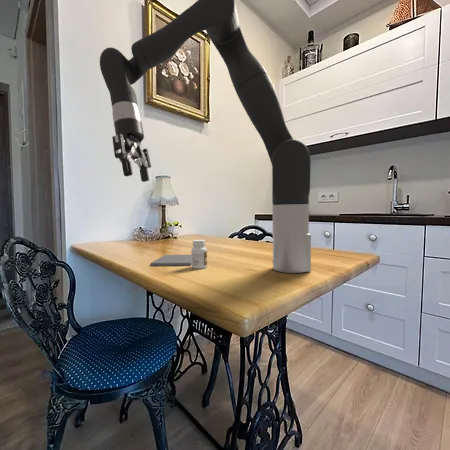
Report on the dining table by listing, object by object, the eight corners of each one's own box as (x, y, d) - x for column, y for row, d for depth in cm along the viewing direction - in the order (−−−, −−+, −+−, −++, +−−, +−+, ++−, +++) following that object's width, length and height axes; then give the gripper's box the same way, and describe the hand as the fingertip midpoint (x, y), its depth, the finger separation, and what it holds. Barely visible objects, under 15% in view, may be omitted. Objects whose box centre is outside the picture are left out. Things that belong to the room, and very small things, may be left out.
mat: (198, 256, 89) (198, 254, 89) (190, 265, 76) (190, 263, 75) (164, 257, 90) (164, 254, 90) (150, 265, 76) (150, 263, 76)
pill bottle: (208, 268, 72) (208, 240, 71) (193, 269, 71) (192, 241, 70) (205, 265, 76) (204, 239, 76) (190, 266, 75) (189, 239, 74)
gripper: (124, 108, 65) (134, 170, 65) (152, 128, 79) (161, 180, 79) (99, 116, 67) (109, 177, 66) (131, 135, 81) (139, 185, 80)
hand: (137, 178), depth 73 cm, fingers open, 8 cm apart
